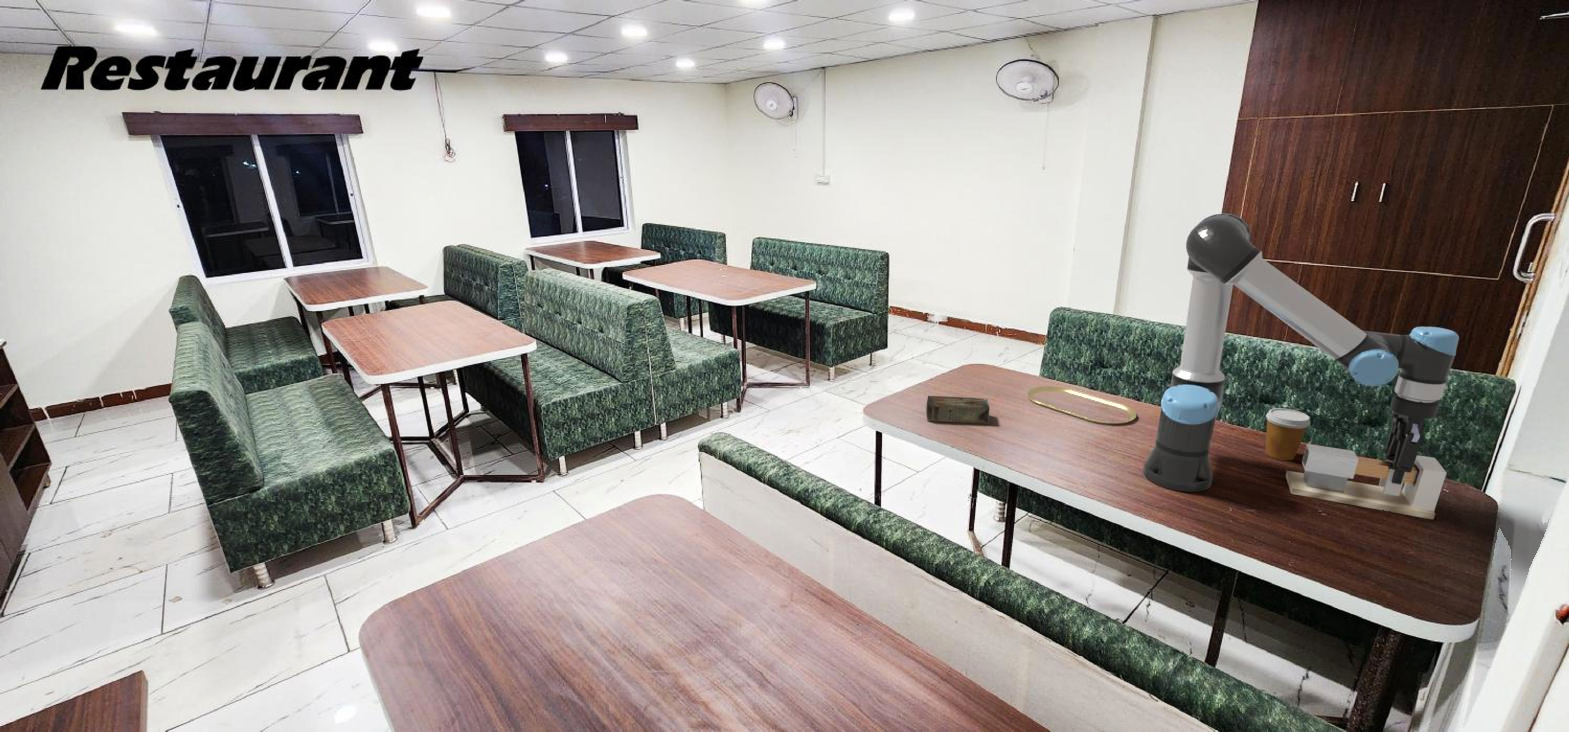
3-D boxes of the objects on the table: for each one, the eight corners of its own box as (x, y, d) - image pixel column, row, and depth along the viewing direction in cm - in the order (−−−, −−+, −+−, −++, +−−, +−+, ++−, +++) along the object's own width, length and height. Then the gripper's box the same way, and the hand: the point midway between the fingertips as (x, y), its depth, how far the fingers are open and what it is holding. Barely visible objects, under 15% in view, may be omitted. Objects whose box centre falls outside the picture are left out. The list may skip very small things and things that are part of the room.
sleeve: (1301, 485, 157) (1309, 451, 154) (1298, 476, 161) (1306, 443, 158) (1348, 493, 153) (1358, 459, 150) (1344, 484, 157) (1353, 450, 154)
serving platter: (1047, 386, 231) (1048, 382, 230) (1147, 416, 203) (1148, 411, 203) (1015, 399, 221) (1015, 394, 220) (1115, 432, 193) (1116, 427, 193)
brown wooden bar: (1333, 470, 154) (1336, 458, 153) (1330, 464, 156) (1333, 452, 155) (1420, 484, 146) (1424, 472, 145) (1415, 478, 149) (1419, 466, 148)
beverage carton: (989, 425, 201) (990, 405, 199) (926, 422, 204) (926, 403, 202) (986, 414, 208) (987, 395, 206) (925, 412, 212) (926, 394, 210)
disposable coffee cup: (1309, 464, 170) (1319, 422, 166) (1268, 462, 172) (1277, 420, 168) (1290, 448, 179) (1299, 408, 175) (1251, 446, 180) (1260, 406, 177)
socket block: (1411, 507, 146) (1423, 469, 143) (1402, 491, 153) (1413, 454, 150) (1433, 511, 144) (1446, 472, 141) (1423, 495, 151) (1434, 457, 148)
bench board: (1291, 493, 156) (1292, 488, 156) (1285, 475, 164) (1287, 470, 164) (1433, 519, 144) (1435, 513, 144) (1419, 498, 152) (1421, 493, 152)
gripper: (1452, 412, 135) (1420, 510, 142) (1428, 387, 148) (1400, 478, 155) (1404, 406, 138) (1376, 502, 146) (1385, 382, 151) (1360, 471, 159)
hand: (1388, 490), depth 151 cm, fingers closed on brown wooden bar, 3 cm apart
